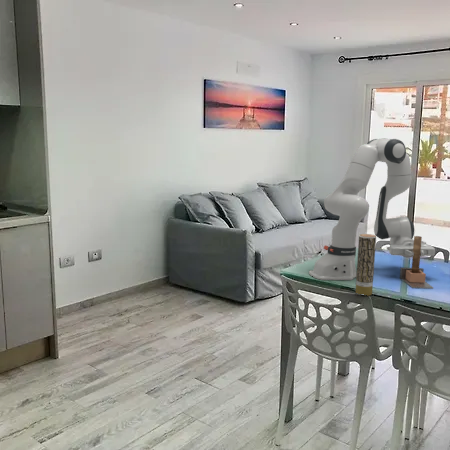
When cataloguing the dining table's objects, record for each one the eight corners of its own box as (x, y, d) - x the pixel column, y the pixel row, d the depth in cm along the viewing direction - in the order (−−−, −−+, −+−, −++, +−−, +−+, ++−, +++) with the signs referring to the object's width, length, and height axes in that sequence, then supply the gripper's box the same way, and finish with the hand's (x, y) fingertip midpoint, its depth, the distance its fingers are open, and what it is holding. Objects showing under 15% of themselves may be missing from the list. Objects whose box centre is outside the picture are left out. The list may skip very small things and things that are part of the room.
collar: (424, 282, 228) (425, 274, 227) (410, 282, 228) (411, 273, 227) (419, 278, 234) (420, 270, 234) (405, 278, 234) (406, 269, 234)
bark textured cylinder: (372, 297, 207) (376, 237, 203) (355, 295, 209) (359, 236, 205) (371, 292, 214) (375, 234, 210) (354, 291, 215) (358, 233, 211)
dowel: (413, 280, 230) (417, 237, 227) (409, 278, 233) (412, 236, 230) (419, 280, 230) (423, 237, 227) (415, 278, 234) (418, 235, 230)
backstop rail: (434, 288, 221) (435, 277, 220) (411, 288, 221) (412, 276, 221) (421, 278, 237) (422, 268, 236) (399, 278, 237) (400, 267, 236)
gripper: (385, 240, 242) (394, 247, 229) (428, 241, 242) (440, 247, 228) (384, 253, 243) (393, 260, 230) (427, 254, 243) (439, 261, 229)
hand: (417, 254), depth 229 cm, fingers closed on dowel, 3 cm apart
